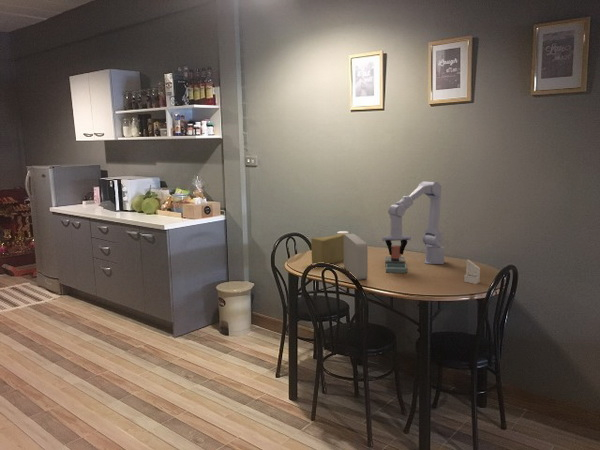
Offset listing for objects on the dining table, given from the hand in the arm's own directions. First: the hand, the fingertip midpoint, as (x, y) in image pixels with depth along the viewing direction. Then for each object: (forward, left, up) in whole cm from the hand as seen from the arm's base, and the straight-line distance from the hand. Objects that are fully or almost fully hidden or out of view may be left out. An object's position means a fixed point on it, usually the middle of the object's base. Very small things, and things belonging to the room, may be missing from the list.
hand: (396, 254), depth 257 cm
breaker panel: (0, -12, -8) cm, 14 cm away
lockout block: (0, 0, -2) cm, 2 cm away
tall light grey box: (+20, +7, -8) cm, 23 cm away
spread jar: (+30, -41, -8) cm, 51 cm away
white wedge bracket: (-35, +18, -8) cm, 40 cm away
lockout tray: (0, 0, -8) cm, 8 cm away
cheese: (+34, -14, -8) cm, 38 cm away
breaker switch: (0, -9, -5) cm, 10 cm away
